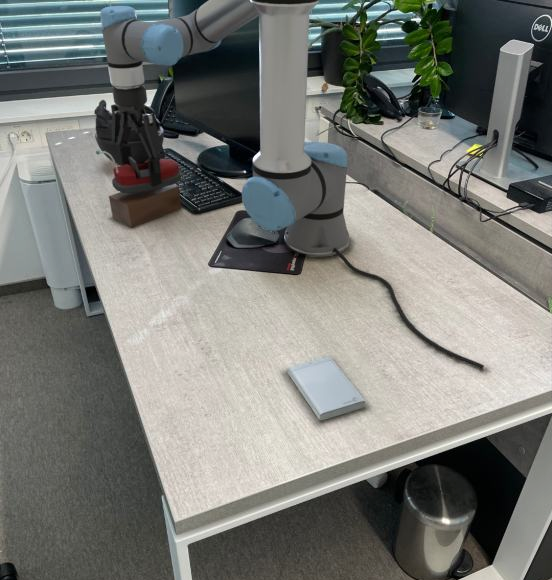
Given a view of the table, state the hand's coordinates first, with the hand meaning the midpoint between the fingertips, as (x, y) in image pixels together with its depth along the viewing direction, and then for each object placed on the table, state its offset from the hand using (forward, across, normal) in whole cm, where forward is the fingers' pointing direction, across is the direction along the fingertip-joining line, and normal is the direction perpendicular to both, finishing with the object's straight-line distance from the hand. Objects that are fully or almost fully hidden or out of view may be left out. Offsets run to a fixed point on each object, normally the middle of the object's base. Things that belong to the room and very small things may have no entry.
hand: (142, 178), depth 145 cm
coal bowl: (+9, +30, -18) cm, 36 cm away
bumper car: (+2, 0, 0) cm, 2 cm away
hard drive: (+9, -77, +22) cm, 81 cm away
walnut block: (+9, 0, 0) cm, 9 cm away
